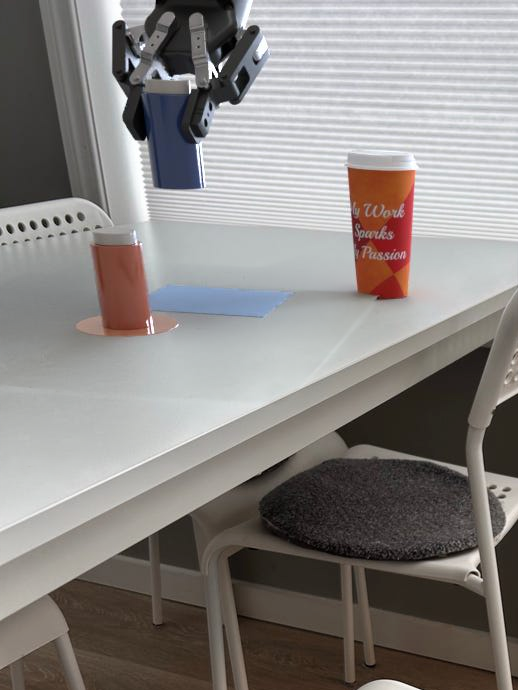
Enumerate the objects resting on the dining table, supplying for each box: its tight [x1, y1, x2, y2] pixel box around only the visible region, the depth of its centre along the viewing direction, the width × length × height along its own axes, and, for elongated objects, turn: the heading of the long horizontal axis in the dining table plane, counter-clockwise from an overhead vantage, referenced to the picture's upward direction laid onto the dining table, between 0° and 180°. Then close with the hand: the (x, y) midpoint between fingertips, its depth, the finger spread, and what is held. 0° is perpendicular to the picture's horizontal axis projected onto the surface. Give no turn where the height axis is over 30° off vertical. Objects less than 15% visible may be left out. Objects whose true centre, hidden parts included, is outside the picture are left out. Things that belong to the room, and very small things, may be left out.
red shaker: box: [88, 227, 153, 330], centre depth 85 cm, size 4×4×8 cm
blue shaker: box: [141, 78, 207, 191], centre depth 80 cm, size 4×4×8 cm
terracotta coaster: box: [75, 313, 180, 338], centre depth 87 cm, size 9×9×1 cm
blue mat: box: [149, 284, 295, 318], centre depth 97 cm, size 14×12×1 cm
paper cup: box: [343, 149, 420, 300], centre depth 102 cm, size 8×8×14 cm
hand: (162, 134), depth 78 cm, fingers closed on blue shaker, 4 cm apart
